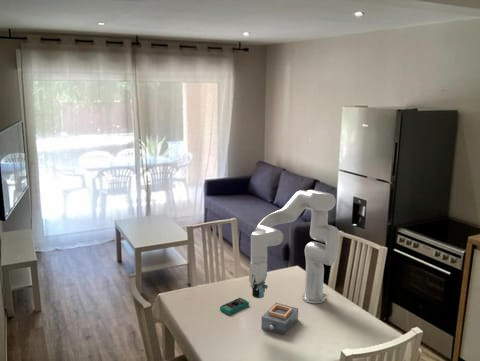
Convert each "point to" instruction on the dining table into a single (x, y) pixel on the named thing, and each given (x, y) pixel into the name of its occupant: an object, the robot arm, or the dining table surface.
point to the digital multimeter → (234, 306)
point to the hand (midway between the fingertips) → (258, 293)
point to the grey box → (279, 318)
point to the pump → (261, 289)
